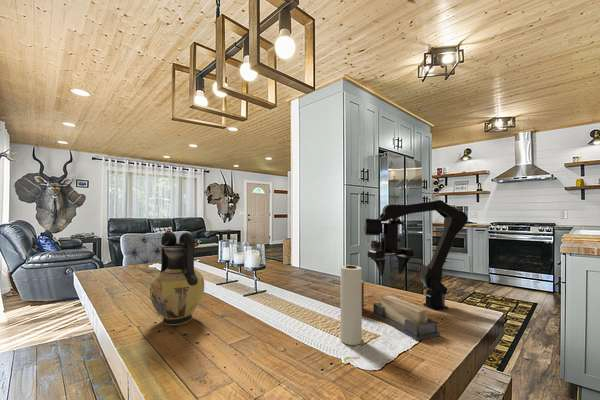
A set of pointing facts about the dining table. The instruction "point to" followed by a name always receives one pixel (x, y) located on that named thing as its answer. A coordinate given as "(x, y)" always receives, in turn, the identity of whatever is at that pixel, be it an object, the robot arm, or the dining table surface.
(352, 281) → the paper towel roll
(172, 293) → the amphora
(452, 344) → the dining table surface
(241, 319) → the dining table surface
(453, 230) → the robot arm
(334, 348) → the dining table surface
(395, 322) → the bracket
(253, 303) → the dining table surface
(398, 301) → the beige rectangular block
